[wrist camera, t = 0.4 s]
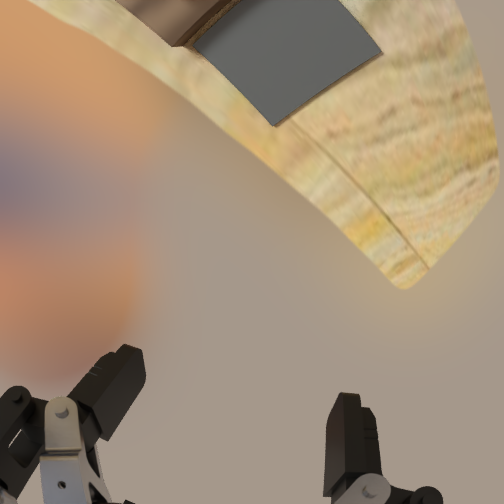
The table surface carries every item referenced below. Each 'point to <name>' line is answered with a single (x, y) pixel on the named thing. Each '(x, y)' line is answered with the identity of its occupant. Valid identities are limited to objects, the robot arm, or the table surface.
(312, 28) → the mat
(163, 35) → the platform
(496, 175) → the table surface
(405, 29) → the table surface
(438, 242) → the table surface
